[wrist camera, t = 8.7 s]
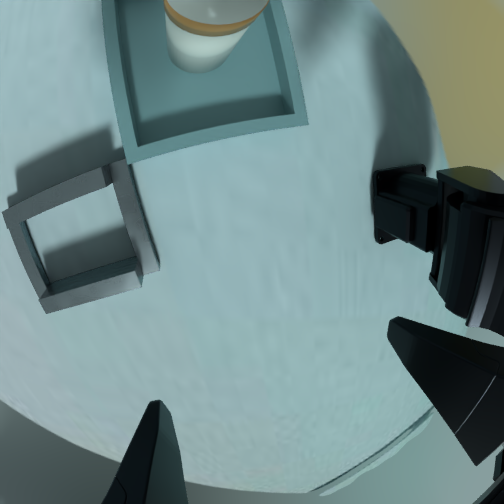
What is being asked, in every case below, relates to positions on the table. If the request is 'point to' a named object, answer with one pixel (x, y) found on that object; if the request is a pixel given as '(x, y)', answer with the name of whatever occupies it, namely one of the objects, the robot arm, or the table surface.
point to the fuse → (206, 30)
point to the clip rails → (99, 279)
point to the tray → (197, 82)
